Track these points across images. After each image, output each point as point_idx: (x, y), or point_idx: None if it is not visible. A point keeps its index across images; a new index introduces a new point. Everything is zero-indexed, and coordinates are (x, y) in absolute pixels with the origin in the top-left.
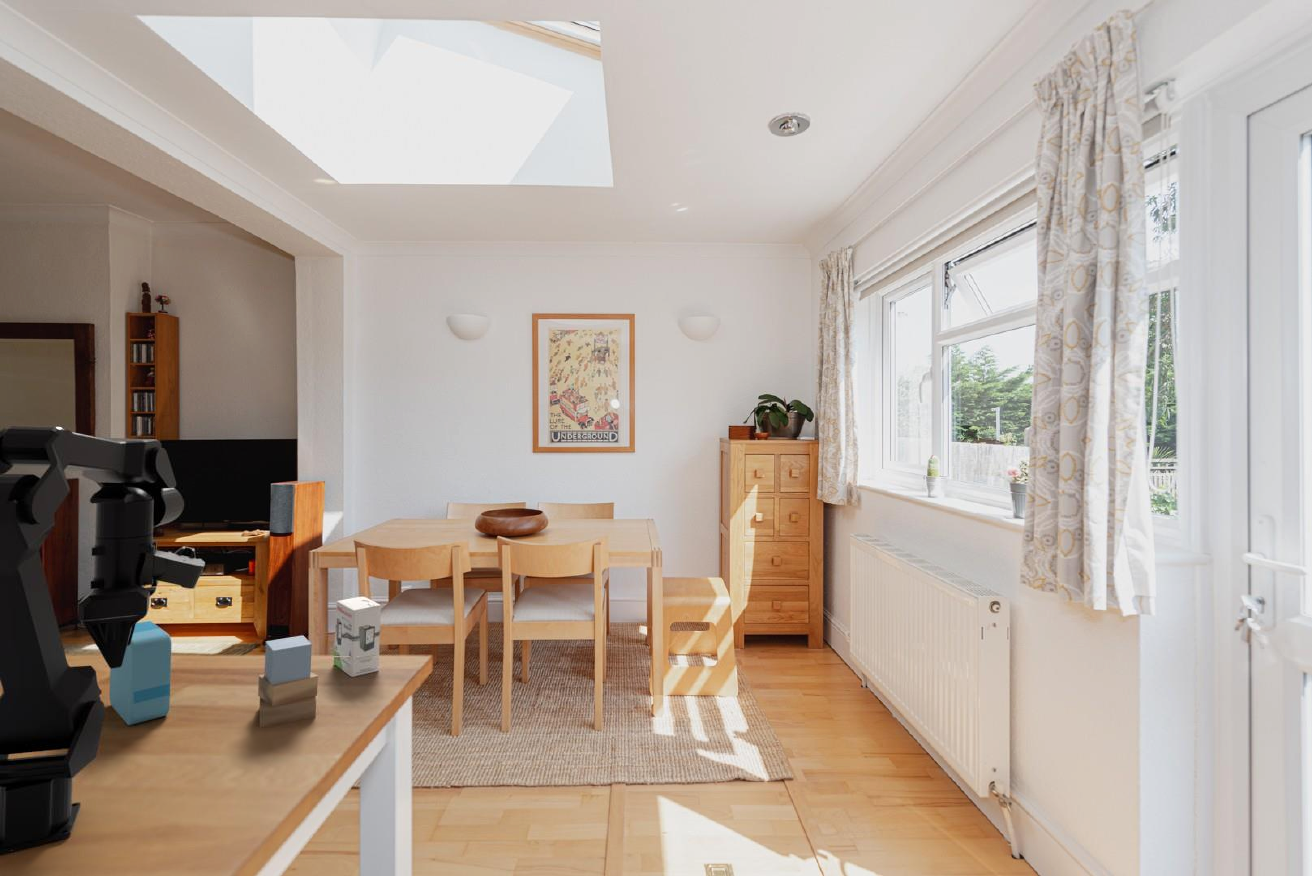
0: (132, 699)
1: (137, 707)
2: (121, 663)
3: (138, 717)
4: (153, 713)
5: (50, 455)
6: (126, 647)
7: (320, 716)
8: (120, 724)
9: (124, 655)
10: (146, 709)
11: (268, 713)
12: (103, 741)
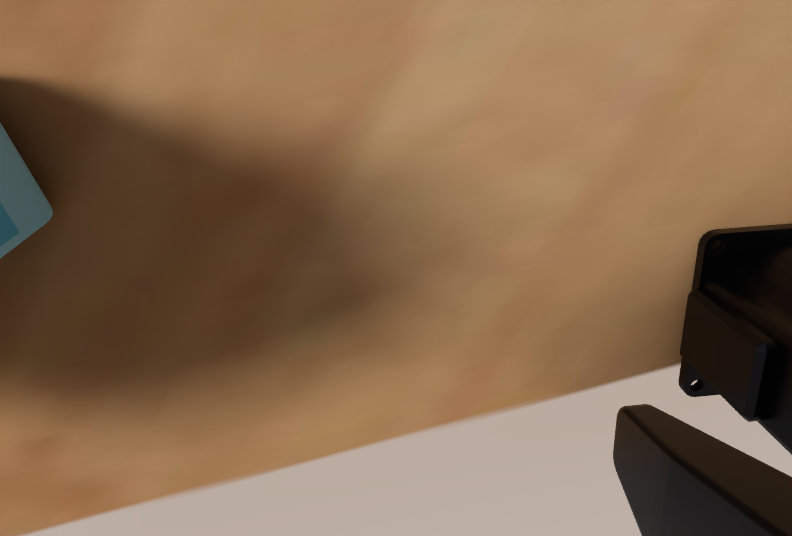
0: (10, 245)
1: (18, 209)
2: (667, 418)
3: (39, 189)
4: (6, 133)
5: None
6: (779, 492)
7: None
8: None
9: (689, 446)
10: (7, 168)
11: None
12: (178, 272)
